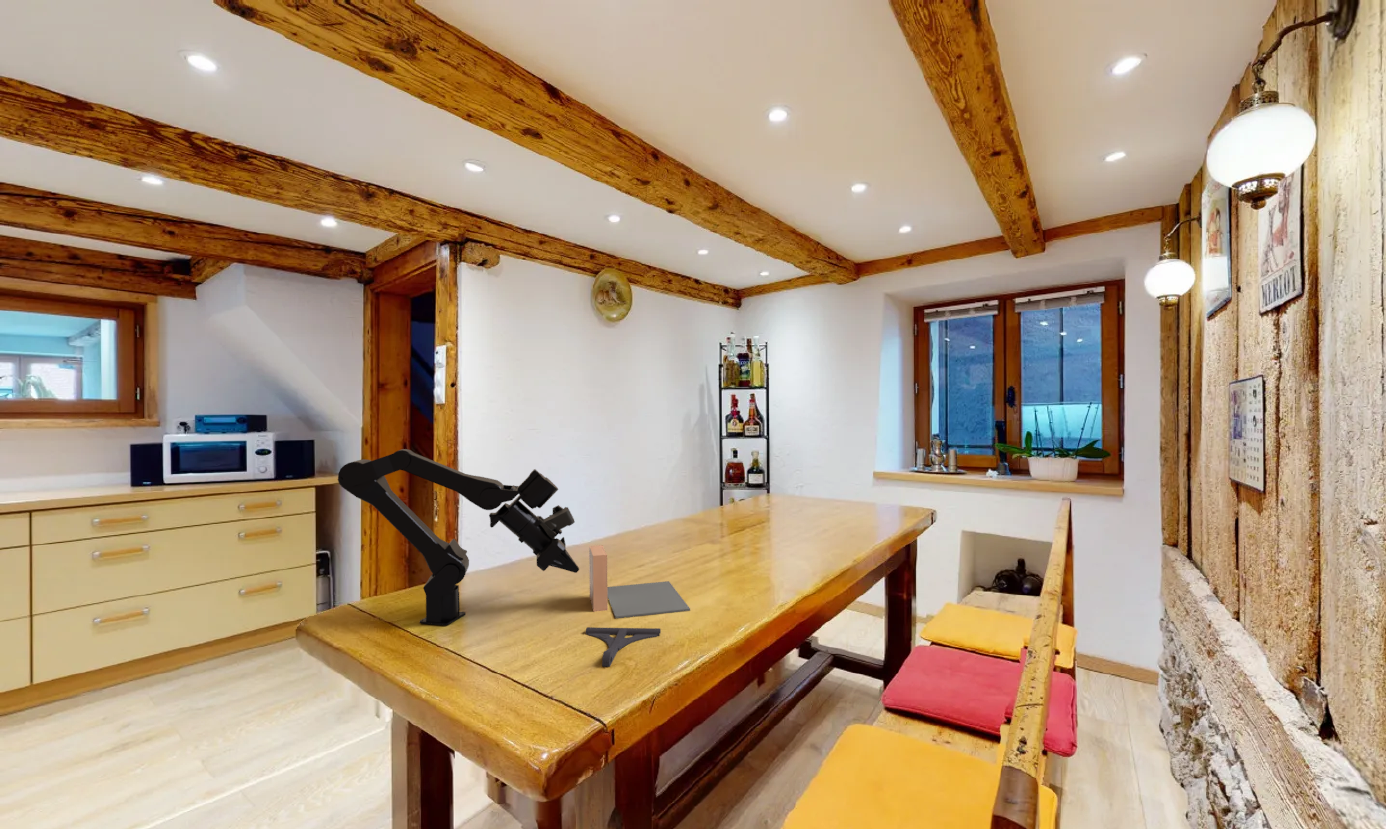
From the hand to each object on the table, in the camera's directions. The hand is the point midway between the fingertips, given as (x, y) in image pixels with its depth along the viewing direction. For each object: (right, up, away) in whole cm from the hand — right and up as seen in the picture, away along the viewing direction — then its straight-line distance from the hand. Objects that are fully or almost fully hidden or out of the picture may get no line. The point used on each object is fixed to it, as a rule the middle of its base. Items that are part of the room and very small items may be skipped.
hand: (577, 570), depth 122 cm
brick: (+4, -8, +1) cm, 9 cm away
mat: (+14, -8, +4) cm, 17 cm away
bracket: (+11, -9, -22) cm, 26 cm away
